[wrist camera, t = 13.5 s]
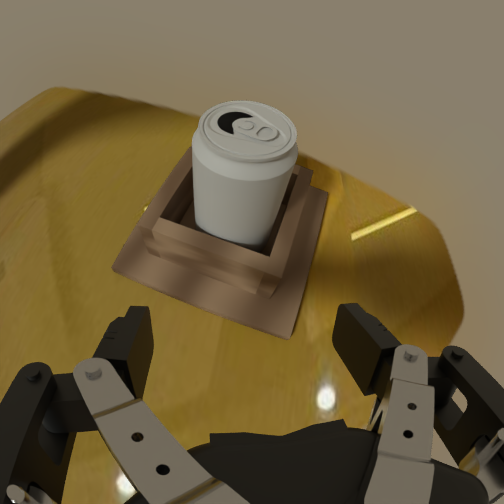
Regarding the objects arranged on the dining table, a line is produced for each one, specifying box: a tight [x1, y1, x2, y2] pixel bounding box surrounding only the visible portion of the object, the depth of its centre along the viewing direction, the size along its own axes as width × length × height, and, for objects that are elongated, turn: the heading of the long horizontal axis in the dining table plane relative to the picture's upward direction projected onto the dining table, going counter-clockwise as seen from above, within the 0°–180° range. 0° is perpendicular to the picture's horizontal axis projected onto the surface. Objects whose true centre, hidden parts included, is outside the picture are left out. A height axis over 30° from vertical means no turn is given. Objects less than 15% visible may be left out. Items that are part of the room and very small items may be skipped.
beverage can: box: [192, 100, 298, 253], centre depth 20 cm, size 6×6×12 cm
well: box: [111, 146, 328, 340], centre depth 24 cm, size 16×16×5 cm
